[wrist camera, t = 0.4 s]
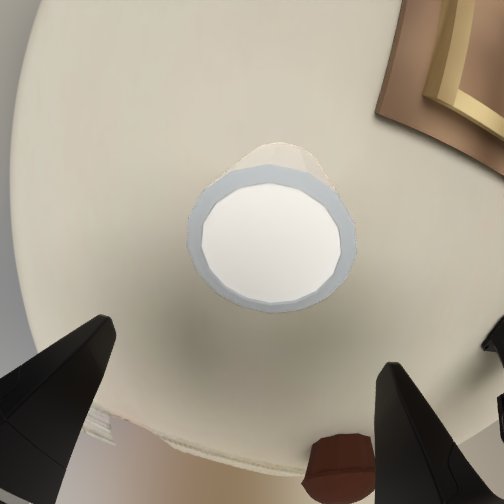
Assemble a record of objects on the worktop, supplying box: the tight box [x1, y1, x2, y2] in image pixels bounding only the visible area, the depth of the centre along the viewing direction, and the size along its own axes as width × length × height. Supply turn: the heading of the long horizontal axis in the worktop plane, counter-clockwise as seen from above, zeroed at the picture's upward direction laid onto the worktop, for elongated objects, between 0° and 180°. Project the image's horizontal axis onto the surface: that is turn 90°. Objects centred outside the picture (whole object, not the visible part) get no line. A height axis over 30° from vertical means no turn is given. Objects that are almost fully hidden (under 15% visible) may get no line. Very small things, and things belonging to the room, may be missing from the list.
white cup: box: [187, 142, 357, 313], centre depth 15 cm, size 7×7×7 cm
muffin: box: [301, 434, 375, 504], centre depth 32 cm, size 12×11×10 cm
